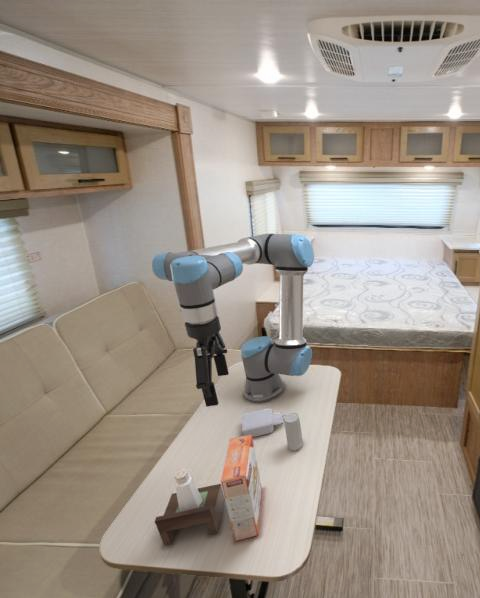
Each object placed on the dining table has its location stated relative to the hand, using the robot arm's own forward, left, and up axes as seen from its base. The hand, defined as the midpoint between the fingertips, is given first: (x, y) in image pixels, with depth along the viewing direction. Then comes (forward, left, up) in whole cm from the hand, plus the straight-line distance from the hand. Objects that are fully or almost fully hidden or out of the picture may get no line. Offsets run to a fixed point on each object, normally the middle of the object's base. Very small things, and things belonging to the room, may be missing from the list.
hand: (218, 389), depth 93 cm
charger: (-18, +7, -31) cm, 36 cm away
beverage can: (-6, +17, -31) cm, 36 cm away
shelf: (+14, -8, -31) cm, 35 cm away
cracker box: (+16, +6, -31) cm, 35 cm away
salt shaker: (+14, -8, -25) cm, 29 cm away
